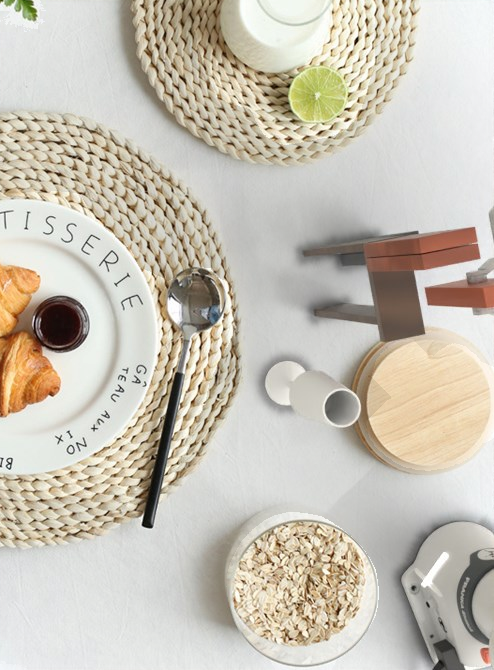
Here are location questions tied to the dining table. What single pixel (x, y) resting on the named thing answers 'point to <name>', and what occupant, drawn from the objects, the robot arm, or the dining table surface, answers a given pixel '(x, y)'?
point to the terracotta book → (461, 294)
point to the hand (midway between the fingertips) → (471, 294)
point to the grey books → (359, 257)
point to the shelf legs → (345, 310)
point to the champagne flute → (312, 394)
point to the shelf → (410, 275)
